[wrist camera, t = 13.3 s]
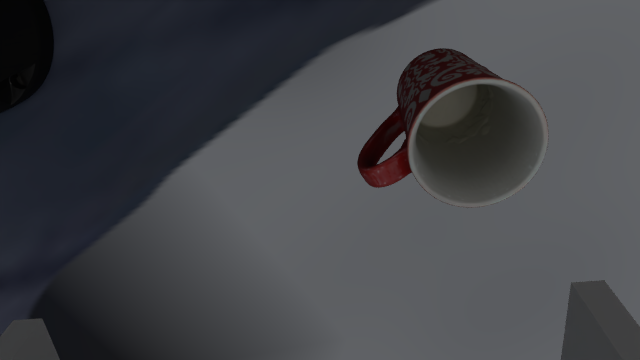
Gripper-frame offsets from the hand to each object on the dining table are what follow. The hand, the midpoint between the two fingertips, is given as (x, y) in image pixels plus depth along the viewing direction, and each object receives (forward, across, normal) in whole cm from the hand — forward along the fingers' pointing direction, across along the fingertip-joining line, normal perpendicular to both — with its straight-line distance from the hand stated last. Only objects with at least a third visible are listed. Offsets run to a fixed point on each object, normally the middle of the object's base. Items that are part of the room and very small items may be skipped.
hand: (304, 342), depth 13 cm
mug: (+35, +8, -5) cm, 36 cm away
